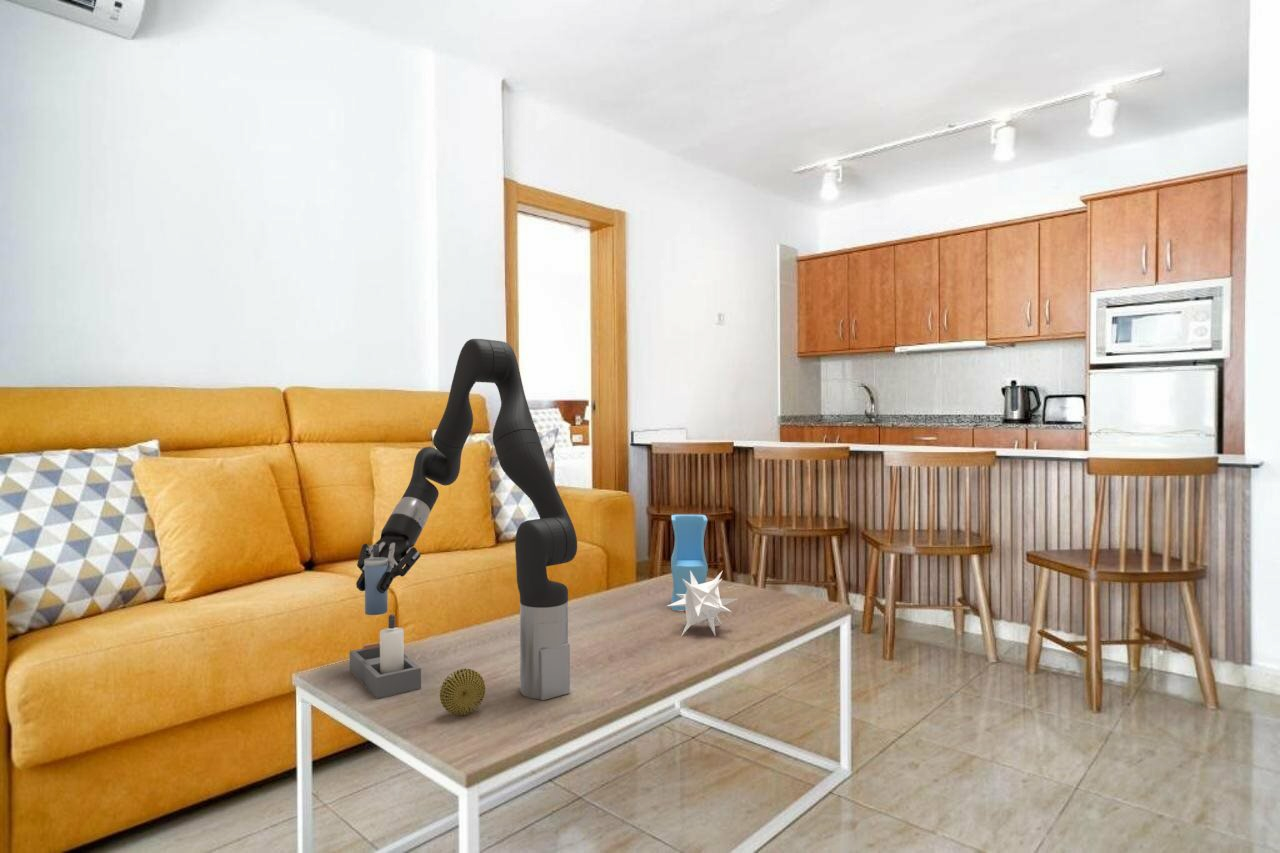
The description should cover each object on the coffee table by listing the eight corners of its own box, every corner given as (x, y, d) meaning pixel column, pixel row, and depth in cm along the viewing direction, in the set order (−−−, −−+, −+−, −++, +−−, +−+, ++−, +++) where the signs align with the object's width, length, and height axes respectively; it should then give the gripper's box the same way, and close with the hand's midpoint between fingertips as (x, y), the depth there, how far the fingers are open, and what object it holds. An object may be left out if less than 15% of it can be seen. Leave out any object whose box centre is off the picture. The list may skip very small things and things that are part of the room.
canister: (390, 612, 146) (390, 544, 146) (368, 616, 143) (368, 546, 143) (383, 607, 150) (383, 541, 149) (361, 611, 147) (361, 543, 147)
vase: (671, 611, 193) (671, 519, 192) (671, 601, 202) (671, 514, 202) (707, 611, 192) (707, 519, 192) (705, 601, 202) (705, 514, 202)
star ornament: (752, 636, 172) (752, 577, 171) (708, 649, 163) (708, 587, 162) (697, 615, 188) (697, 561, 187) (654, 626, 179) (654, 569, 178)
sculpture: (481, 705, 130) (481, 662, 129) (488, 713, 126) (488, 669, 126) (437, 714, 126) (437, 669, 126) (442, 723, 122) (442, 677, 122)
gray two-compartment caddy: (421, 688, 138) (420, 615, 138) (376, 698, 133) (376, 623, 132) (390, 661, 153) (390, 596, 153) (349, 670, 148) (349, 602, 147)
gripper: (371, 510, 156) (331, 577, 144) (427, 513, 151) (390, 583, 140) (387, 530, 161) (350, 597, 149) (441, 534, 156) (407, 602, 145)
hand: (370, 589), depth 145 cm, fingers closed on canister, 4 cm apart
